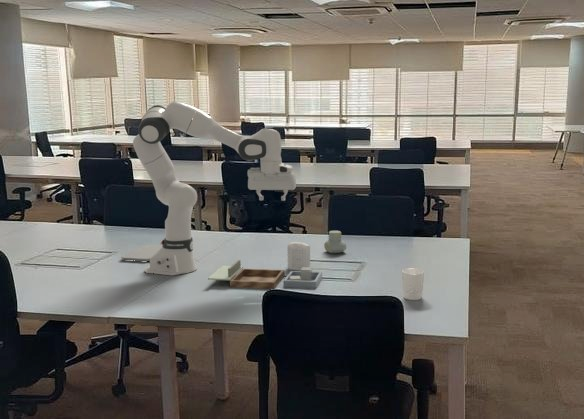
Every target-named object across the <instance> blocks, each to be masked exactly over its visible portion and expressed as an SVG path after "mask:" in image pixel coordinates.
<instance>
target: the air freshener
mask: <svg viewBox="0 0 584 419" xmlns="http://www.w3.org/2000/svg"><path fill="white" fill-rule="evenodd" d="M323 245H324V246H323V247H324V250H325V251H326V252H327V253H329V254H341V253H342V252H345V251H346V249H347V244H346V241H344V240H343V239H342V232H341V231H340V230H329V231H328V240H326V241H325V242H324V243H323Z"/></svg>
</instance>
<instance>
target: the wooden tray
mask: <svg viewBox="0 0 584 419" xmlns="http://www.w3.org/2000/svg"><path fill="white" fill-rule="evenodd" d="M285 276H286V275H285V269H269V268H267V269H264V268H242V269H241V270H240V271H239V272H238V273H237V274H236V275H235V276H234V277H233V278H232V279H231V280H229V287H230V288H241V289H243V288H246V289H266V290H267V289H268V290H275V289H276V288H277V286H278V285H279V284H280V283H281V281H283V280H284V279H283V278H285Z"/></svg>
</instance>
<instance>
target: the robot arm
mask: <svg viewBox="0 0 584 419" xmlns="http://www.w3.org/2000/svg"><path fill="white" fill-rule="evenodd" d="M172 129H174V130H178V131H181V132H183V133H184V134H187V135H189V136H192V137H194V138H198V139H200V140H201V139H202V140H203V139H204V140H205V139H206V140H207V139H208V140H214V141H217V142H220V143H221V144H223V145H226V146H228V147H230V148H232V149H233V150H235V151H236V153H237V154H238V156H240V157H241V159H243V160H245V161H247V162H251V161H255V160H259V159H260V167H250V168H249V169H247V174H246V175H247V177H248V178H247V188H248V190H250V191H252V190H253V191H254V190H255V193H256V194H257V196H258V198H259V199H258V200H259V201H264V199H265V198H264V195H262V193H261V192H262V191H264V190H265V191H283V193H284V194H283V195H281V196H280V199H281V200H280V201H283V202H285V201H286V196H287V195H288V192H289V191H294V190H295V189H296V188H297V182H296V175H295V173H294V172H293V170H294V167H293V165H290V164H286V163H283V162H282V161H283V160H282V156H281V154H282V138H281V134H280V132H279V131H278V130H276V129H273V128H266V127H265V128H261V129H260V130H259V131H257V132H255V133H254V134H252V135H248V134H239V133H236V132H234V131H233V130H230V129H228V128H226V127H223V125H221V124H219V123H218V122H217V121H216V120H215V119H214V118H213V117H212V116H210V115H209V114H207V113H206V112H205V111H203V110H201V109H199V108H197V107H195V106H193V105H190V104H187V103H184V102H181V101H177V100H174V101H172V102H170V103H169V104H168V105H167V106H165V105H160V104H156V105H154V106H151V107H149V109H148V110H147V111H146V112H145V114H144V115H143V116H142V118H141V121H140V123H139V124H138V134H137V135H136V136H134V138H133V140H132V145H133V149H134V150H135V154H136V156H137V158H138V159H139V161H140V163H141V165H142V167H143V168H144V169H145V171H146V172H147V174H148V176H149V178H150V180H151V182H152V184H153V187H154V190H155V195H156V196H155V197H156V198H157V199H158V201H160V202H161V204H163V205H165V206H168V213H167V217H166V219H165V220H164V230H165V232H164V234H165V237H164V239H162V240H161V241H160V245H162V248H161V249H160V250H158V251H157V252H156V253H155V254H154V255H153V256H152V257H151V259H150V262H149V265H148V266H146V267H145V268H144V273H145V272H146V274H153V273H154V275H164V276H177V275H182V274H188V273H192V272H194V271H196V270H197V269H198V267H197V264H196V261H195V257H194V251H193V250H194V241H193V237H192V226H191V225H192V213H193V209H194V206H195V205H196V204H197V201H198V193H197V190H196V189H195V188H194V187H192V186H191V185H189V184H188V183H184V182H180V181H179V179H178V178H177V175H176V173H175V166H174V163H173V161H172V160H171V158H170V156H169V154H168V153H167V152H166V150H165V148H164V147H163V145H162V143H161V141H162V140H163V139H164V138H165V137H166V136H167V135H168V134H169V133H170V132H171V130H172Z"/></svg>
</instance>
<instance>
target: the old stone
mask: <svg viewBox="0 0 584 419" xmlns="http://www.w3.org/2000/svg"><path fill="white" fill-rule="evenodd" d="M290 280H300V281H301V278H300V276H290Z"/></svg>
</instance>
